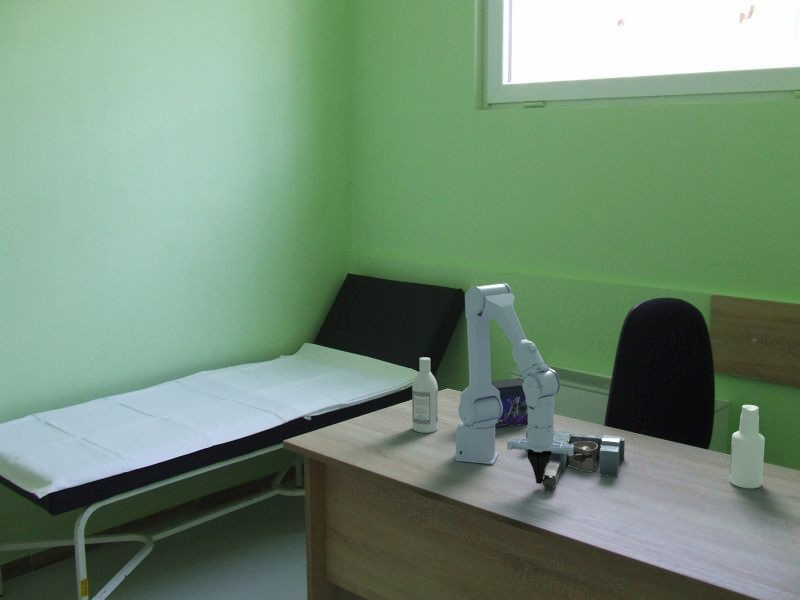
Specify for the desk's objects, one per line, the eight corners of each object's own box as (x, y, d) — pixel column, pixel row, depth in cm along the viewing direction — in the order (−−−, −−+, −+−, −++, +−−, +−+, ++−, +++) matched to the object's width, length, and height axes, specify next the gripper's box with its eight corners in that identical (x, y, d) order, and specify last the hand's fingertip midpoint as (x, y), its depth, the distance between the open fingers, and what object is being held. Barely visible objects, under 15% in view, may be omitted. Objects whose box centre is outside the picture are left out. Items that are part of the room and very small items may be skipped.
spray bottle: (760, 479, 189) (765, 403, 186) (762, 490, 183) (768, 412, 180) (728, 475, 192) (733, 401, 188) (729, 487, 185) (734, 410, 182)
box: (478, 431, 224) (479, 389, 222) (468, 424, 230) (468, 383, 228) (533, 423, 230) (534, 382, 228) (521, 416, 236) (522, 376, 234)
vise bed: (518, 466, 199) (518, 439, 198) (527, 448, 211) (527, 422, 210) (621, 476, 192) (622, 449, 190) (624, 457, 204) (625, 431, 203)
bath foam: (427, 423, 231) (426, 354, 228) (443, 429, 226) (442, 358, 222) (407, 428, 227) (406, 358, 223) (423, 435, 222) (422, 362, 218)
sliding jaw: (539, 491, 184) (539, 465, 183) (553, 453, 206) (553, 430, 205) (558, 493, 182) (558, 467, 181) (569, 455, 205) (570, 432, 204)
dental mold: (607, 468, 197) (608, 448, 196) (585, 473, 194) (586, 453, 193) (584, 457, 204) (585, 438, 203) (563, 463, 201) (563, 443, 200)
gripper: (504, 426, 182) (504, 485, 184) (571, 432, 177) (570, 492, 180) (510, 417, 188) (509, 473, 191) (575, 422, 184) (573, 480, 186)
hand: (539, 481), depth 186 cm, fingers closed
